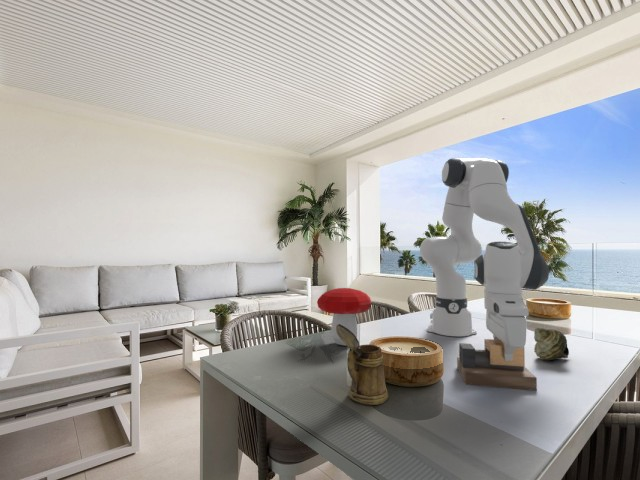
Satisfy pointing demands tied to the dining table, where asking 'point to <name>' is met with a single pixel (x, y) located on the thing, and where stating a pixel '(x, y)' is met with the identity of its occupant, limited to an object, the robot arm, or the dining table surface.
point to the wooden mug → (364, 370)
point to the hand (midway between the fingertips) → (503, 355)
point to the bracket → (491, 371)
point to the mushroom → (344, 308)
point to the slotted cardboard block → (497, 351)
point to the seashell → (550, 344)
